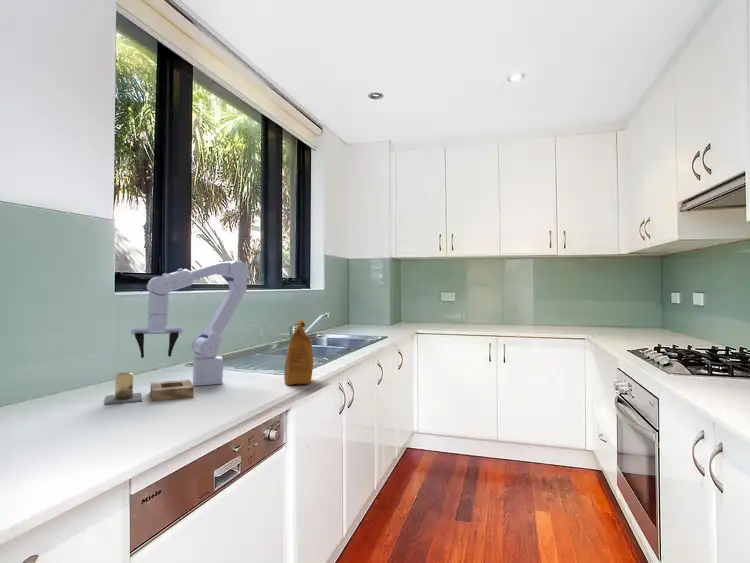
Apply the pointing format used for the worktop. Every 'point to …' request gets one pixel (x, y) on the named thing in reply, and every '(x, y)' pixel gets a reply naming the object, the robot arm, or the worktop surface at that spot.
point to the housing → (171, 390)
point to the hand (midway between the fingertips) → (156, 356)
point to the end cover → (124, 385)
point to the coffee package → (299, 358)
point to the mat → (111, 400)
